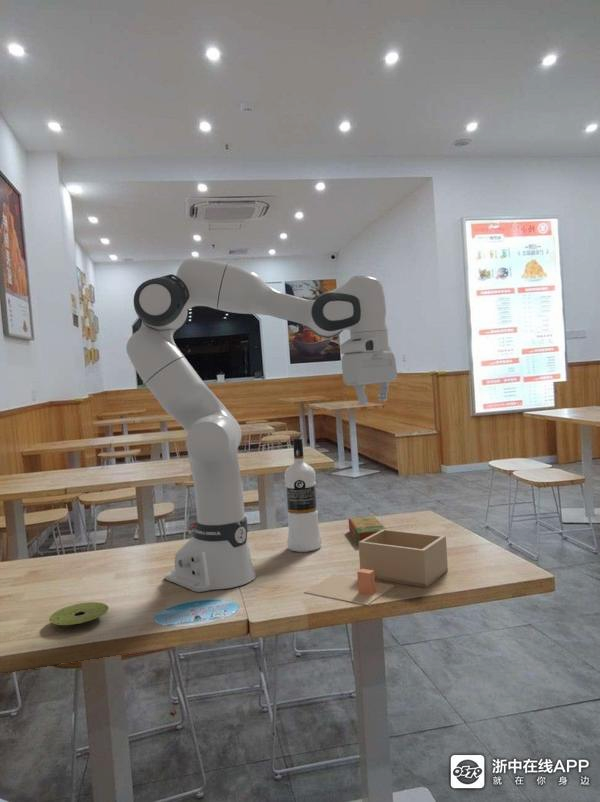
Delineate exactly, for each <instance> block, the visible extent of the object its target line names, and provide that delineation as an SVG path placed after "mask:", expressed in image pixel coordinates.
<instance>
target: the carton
mask: <svg viewBox="0 0 600 802" xmlns="http://www.w3.org/2000/svg"><path fill="white" fill-rule="evenodd" d="M348 528H349V531H348V532H349V533H350V535H351V536H352V538H353V540H354V541H355V543H356V545H357V546H358V547H359V542H360V541H362V540H363V539H365V538H367V537H369V536H371V535H373V534H375V533H377V532H379V531H380V530H382V529H386V527H385V526H384V525H383V524H382V523H381V522H380V521H379V520H378V518H377V517H376V516H364V517H354V518H353V517H352V518H348Z"/></svg>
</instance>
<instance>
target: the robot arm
mask: <svg viewBox="0 0 600 802" xmlns="http://www.w3.org/2000/svg"><path fill="white" fill-rule="evenodd" d="M385 296H386V295H385V292H384V287H383V284H382V283H381V281H380V280H378V279H377V278H375V277H372V276H367V275H359V276H357V275H355V276H352V277H350V278H349V279H348V280H347V281H346V282H344V283H343V284H342V285H340V286H338V287H336V288H335V289H332V290H330V291H327V292H324V293H322V294H320V295H319V296H318V297H317V298H316V299H306V298H303V297H298V296H296V295H292V294H289V293H284V292H282V291H279V290H276V289H275V288H273V287H271V286H270V285H268V284H267V283H266V282H264V280H263V279H262V278H261V277H260V276H259V274H256V273H255V272H253V271H251V270H249V269H247V268H244V267H242V266H239V265H236V264H233V263H228V262H225V261H220V260H214V259H207V258H195V257H194V258H193V257H192V258H188V259H185V260H184V261H183V262H182V263H181V264H180V265H179V267H178V269H177V271H176V275H175V274H172V273H171V274H170V273H169V274H167V275H164V276H163V275H162V276H160V277H155V278H150V279H148V280H145V281H144V282H142V283H141V284H139V286H138V287H137V288H136V290H135V293H134V295H133V307H134V311H135V314H136V315H137V317H138V318H139V319H140V320H141V326H140V328H138V330H136V331H135V332H134V333H132V335H131V336H130V337H129V339H128V341H127V342H126V345H125V347H126V349H125V350H126V353H127V355H128V358H129V359H130V361H131V363H132V366H133V367H134V369H135V371H136V373H137V374H138V376H139V377H140V379H141V381H143V383H144V384H145V386H146V387H147V388H148V390H149V391H150V393H151V394H152V395H153V396H154V398H155V399H156V400H157V402H158V403H159V404H160V406H161V407H162V408H163V410H164V411H165V413H167V414H168V415H169V416H170V417H171V418H173V420H175V421H176V422H177V423H178V425H180V427H182V428H183V429H184V430H185V431H186V438H185V448H186V451H187V455H188V461H189V468H190V472H191V477H192V480H193V485H194V486H193V487H194V493H195V506H196V518H197V520H196V522H193V523H190V524H189V526H191V527H189V529H190V530H191V529H193V533H192V537H191V538H190V539H189V540H188V541H187V542H186V543H184V545H183V546H181V547H180V548H179V549H178V550H177V552H175V556H174V568H172V569H170V570H169V571H167V573H166V574H165V575H164V577H165V578H164V579H165V580H166V581H168V582H172V583H173V584H176V585H179V586H181V587H183V588H186V589H188V590H191V591H193V592H196V593H201V592H207V591H211V590H224V589H232V588H237V587H240V586H243V585H246V584H248V583H250V582H252V581H253V580H254V579H255V578H256V577H257V575H256V574H257V573H256V571H255V569H254V567H255V566H254V563H253V561H252V557H251V551H250V550H251V549H250V546H249V541H248V529H249V528H248V521H247V520H248V519H247V517H246V514H245V503H244V502H245V501H244V489H243V487H244V486H243V481H242V477H241V472H240V465H239V458H238V448H239V447H240V444H241V442H242V438H243V437H242V436H243V435H242V434H243V433H242V428H241V425H240V424H239V422H238V421H237V419H236V418H235V417H234V416H233V414H232V413H231V412H230V411H229V410H228V408H227V407H226V406H225V405H224V404H223V403H222V401H221V400H220V399H219V398H218V397H217V396H216V394H215V393H214V392H212V390H211V389H210V388H209V387H208V385H207V384H205V382H204V381H203V380H202V378H201V377H200V375H199V374H198V373H197V371H196V370H195V369H194V367H193V365H191V363H190V362H189V361H188V359H187V358H186V357H185V355H184V354H183V353H182V352H181V350H180V348H179V347H178V346H177V344H176V343H175V338H177V336H178V335H179V333H180V332H181V331H182V329H183V328H184V327H185V325H186V323H187V322H188V319H189V316H190V315H189V313H190V310H189V309H191V308H194V307H208V308H211V309H214V310H218V311H223V312H228V313H233V314H244V315H260V316H261V315H263V316H270V317H274V318H277V319H282V320H285V321H289V322H292V323H296V324H298V325H299V324H300V325H302V326H304V327H305V328H307V329H308V330H310V331H311V332H312V333H313V334H315V335H316V336H318V337H320V338H322V339H323V338H324V339H331V338H335V337H337V336H339V335H340V334H342V332H344V330H347V331H349V333H350V334H349V335H350V336H349V337H350V338H349V339H348V340H346V341H344V342H343V343H341V344H340V346H339V348H340V349H339V351H340V354H343V355H342V356H341V371H342V380H343V383H344V384H345V386H347V387H349V386H353V387H354V392H355V394H356V396H357V398H358V399H357V400H358V404H359V405H361V406H362V405H367V404H369V396H368V395H367V394H366V392H365V390H366V385H372V384H378V387H379V394H377V399H378V402H387V401H388V393H389V389H390V382H396V381H397V379H398V370H397V369H398V368H397V364H396V359H395V354H394V353H393V352H392V349H391V348H390V345H389V336H388V335H389V334H388V332H389V331H388V328H387V325H386V315H387V306H386V297H385Z"/></svg>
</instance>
